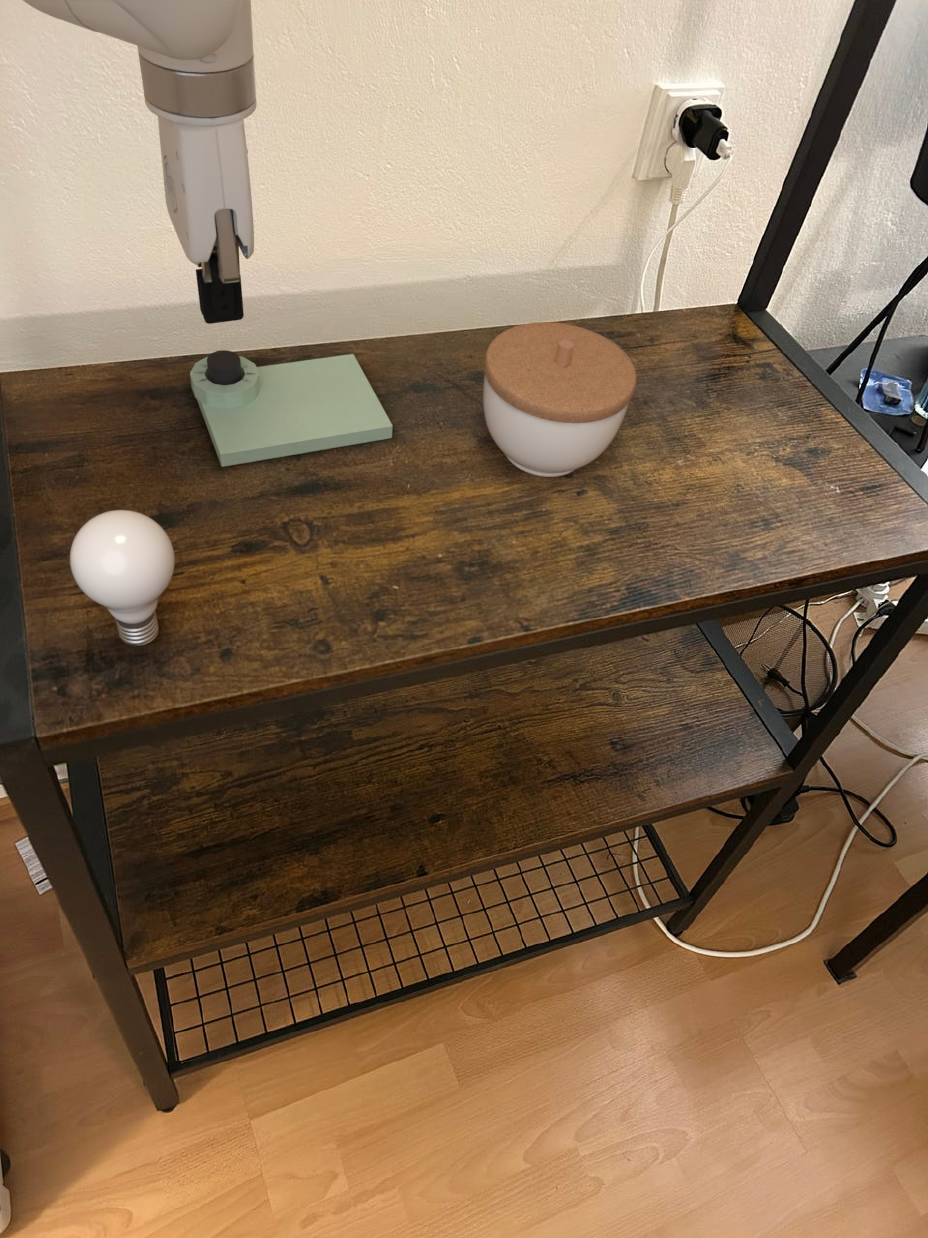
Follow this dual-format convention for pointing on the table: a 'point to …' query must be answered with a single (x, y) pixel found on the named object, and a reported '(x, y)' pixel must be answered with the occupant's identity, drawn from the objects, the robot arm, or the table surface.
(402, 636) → the table surface
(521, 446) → the lidded bowl
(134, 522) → the lightbulb
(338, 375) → the green dial base
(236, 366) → the tare button
